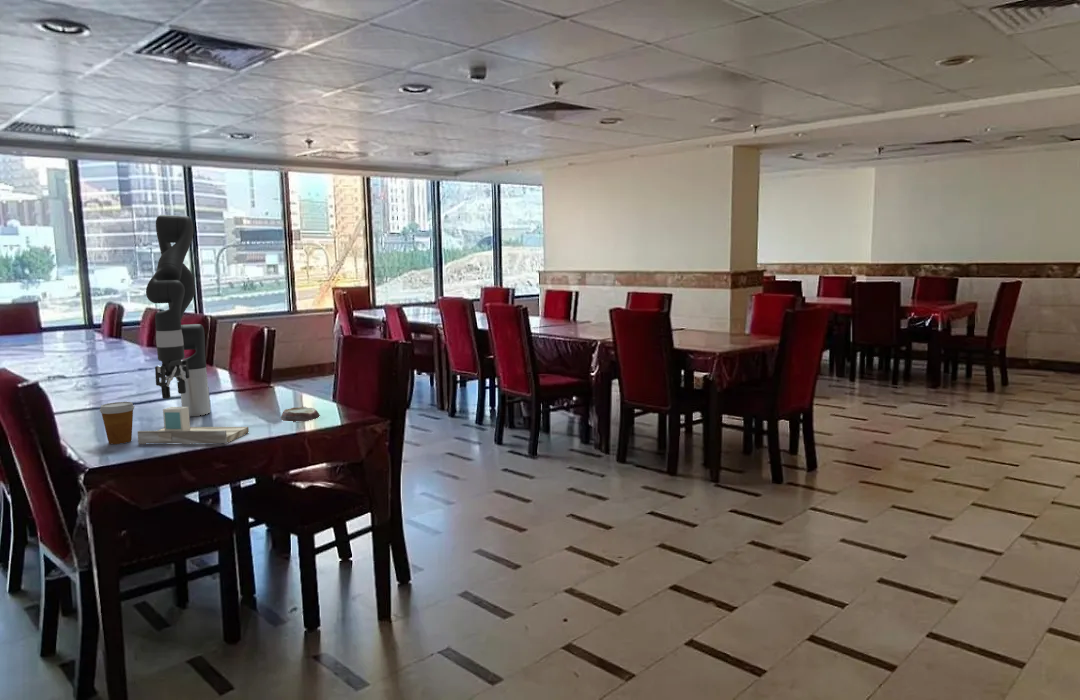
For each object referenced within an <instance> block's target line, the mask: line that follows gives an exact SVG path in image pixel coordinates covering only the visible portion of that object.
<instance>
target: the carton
mask: <svg viewBox="0 0 1080 700" xmlns="http://www.w3.org/2000/svg"><path fill="white" fill-rule="evenodd" d="M162 413H163V414H162V416H163V426H164V427H163V428H165V431H190V427H191V423H190V416H189V409H188V407H182V406H168V407H166V408H163V409H162Z"/></svg>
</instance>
